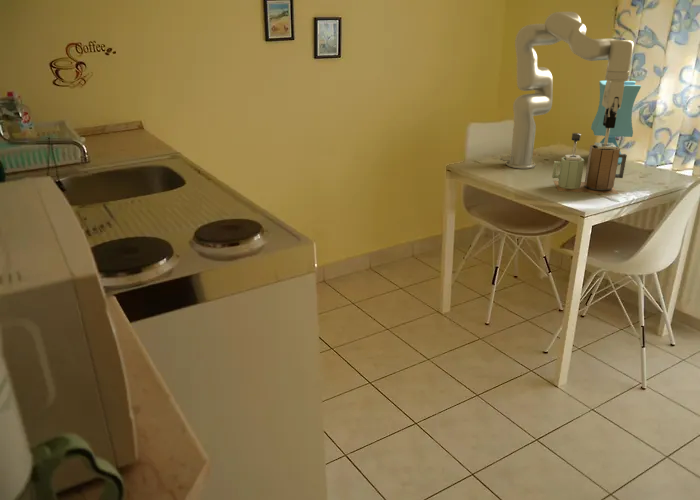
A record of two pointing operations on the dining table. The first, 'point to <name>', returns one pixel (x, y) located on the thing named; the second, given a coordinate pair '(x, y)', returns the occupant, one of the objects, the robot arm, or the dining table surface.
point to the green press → (569, 171)
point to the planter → (623, 115)
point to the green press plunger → (575, 141)
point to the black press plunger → (606, 133)
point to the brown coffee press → (603, 167)
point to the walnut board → (584, 189)
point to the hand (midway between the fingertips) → (608, 126)
